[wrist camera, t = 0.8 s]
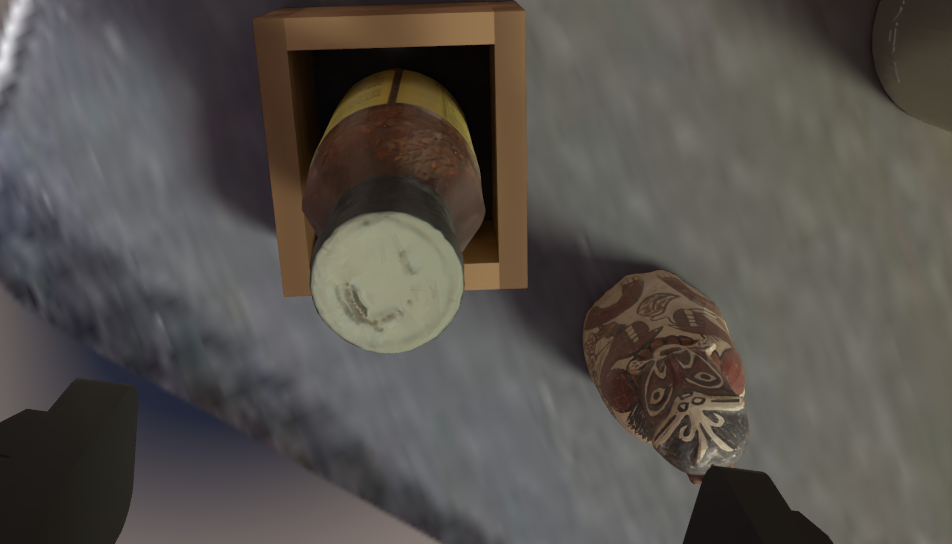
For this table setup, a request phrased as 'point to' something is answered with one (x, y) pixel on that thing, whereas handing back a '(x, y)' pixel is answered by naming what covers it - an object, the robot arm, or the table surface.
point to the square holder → (379, 26)
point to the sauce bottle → (392, 212)
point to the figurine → (669, 370)
